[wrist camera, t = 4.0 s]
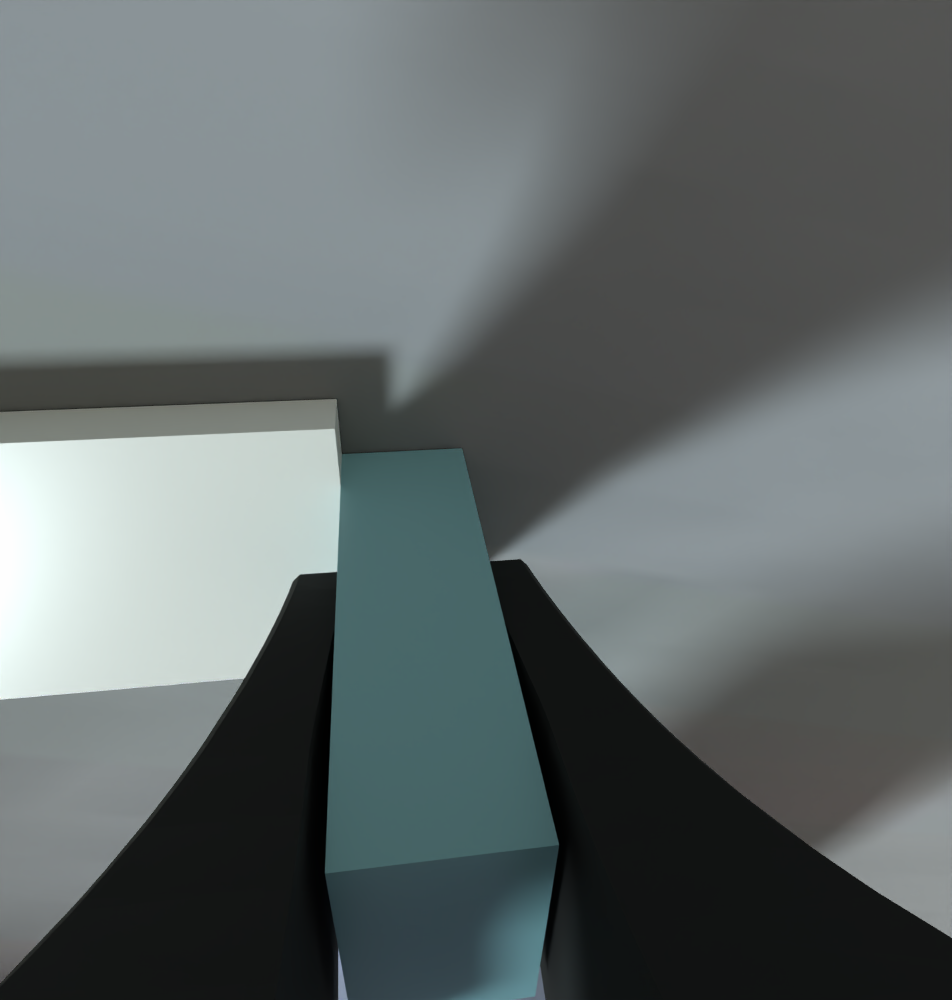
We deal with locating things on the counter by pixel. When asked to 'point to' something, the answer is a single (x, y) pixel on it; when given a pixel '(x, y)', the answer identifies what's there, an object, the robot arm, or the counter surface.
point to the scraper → (357, 651)
